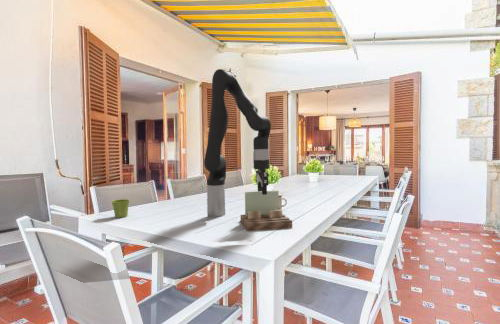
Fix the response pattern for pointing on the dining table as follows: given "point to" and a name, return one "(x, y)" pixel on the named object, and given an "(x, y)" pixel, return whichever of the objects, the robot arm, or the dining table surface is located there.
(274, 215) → the offcut right
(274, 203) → the panel
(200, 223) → the dining table surface
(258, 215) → the offcut left
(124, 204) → the plant pot
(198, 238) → the dining table surface
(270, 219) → the rack
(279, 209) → the teacup with lid
